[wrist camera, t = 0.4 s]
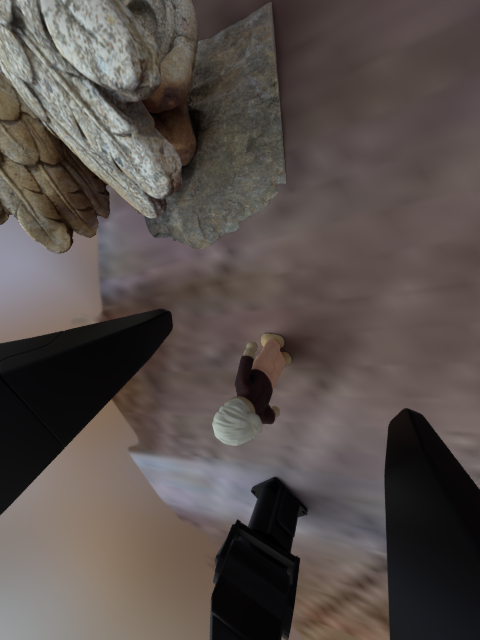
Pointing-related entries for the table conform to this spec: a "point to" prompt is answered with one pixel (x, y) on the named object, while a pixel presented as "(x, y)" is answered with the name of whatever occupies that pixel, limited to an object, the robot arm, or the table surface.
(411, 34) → the table surface
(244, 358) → the grandmother figurine
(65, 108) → the cherub figurine
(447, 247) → the table surface
